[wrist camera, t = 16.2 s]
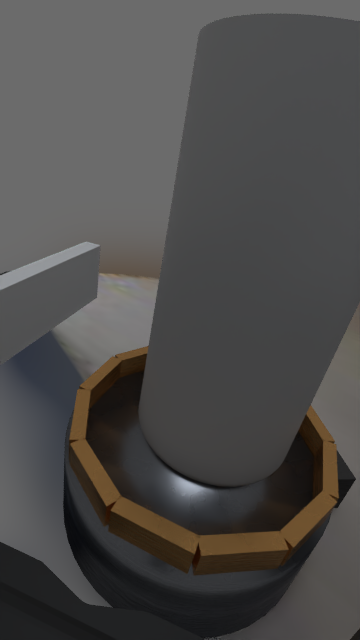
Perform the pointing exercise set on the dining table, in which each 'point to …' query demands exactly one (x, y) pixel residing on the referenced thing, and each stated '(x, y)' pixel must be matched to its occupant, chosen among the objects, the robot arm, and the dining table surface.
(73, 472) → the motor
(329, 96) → the cylinder vase
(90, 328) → the dining table surface
